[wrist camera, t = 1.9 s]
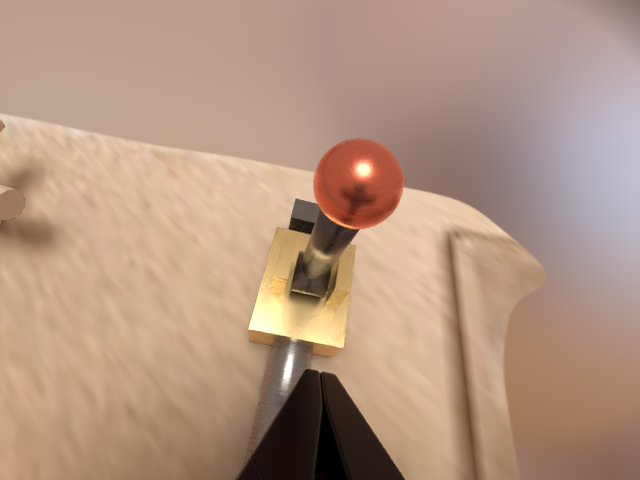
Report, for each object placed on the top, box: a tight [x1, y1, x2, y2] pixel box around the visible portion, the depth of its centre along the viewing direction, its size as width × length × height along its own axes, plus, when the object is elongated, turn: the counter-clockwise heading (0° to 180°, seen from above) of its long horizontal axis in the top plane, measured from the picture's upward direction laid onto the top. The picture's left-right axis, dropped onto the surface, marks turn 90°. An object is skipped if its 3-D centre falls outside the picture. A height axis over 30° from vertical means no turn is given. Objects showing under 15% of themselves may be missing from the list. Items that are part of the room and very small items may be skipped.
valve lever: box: [290, 138, 403, 298], centre depth 14 cm, size 3×3×13 cm
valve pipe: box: [244, 199, 356, 465], centre depth 18 cm, size 21×6×6 cm, turn 170°
